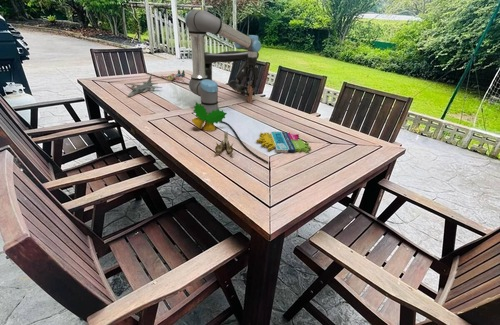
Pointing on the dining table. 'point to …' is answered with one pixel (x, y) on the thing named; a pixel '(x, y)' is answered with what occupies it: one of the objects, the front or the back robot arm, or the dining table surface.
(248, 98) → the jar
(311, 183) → the dining table surface
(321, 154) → the dining table surface
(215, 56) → the back robot arm
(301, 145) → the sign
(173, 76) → the toy
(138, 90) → the airplane
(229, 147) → the jawbone
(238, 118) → the dining table surface
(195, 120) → the ornament
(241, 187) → the dining table surface
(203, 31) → the front robot arm
